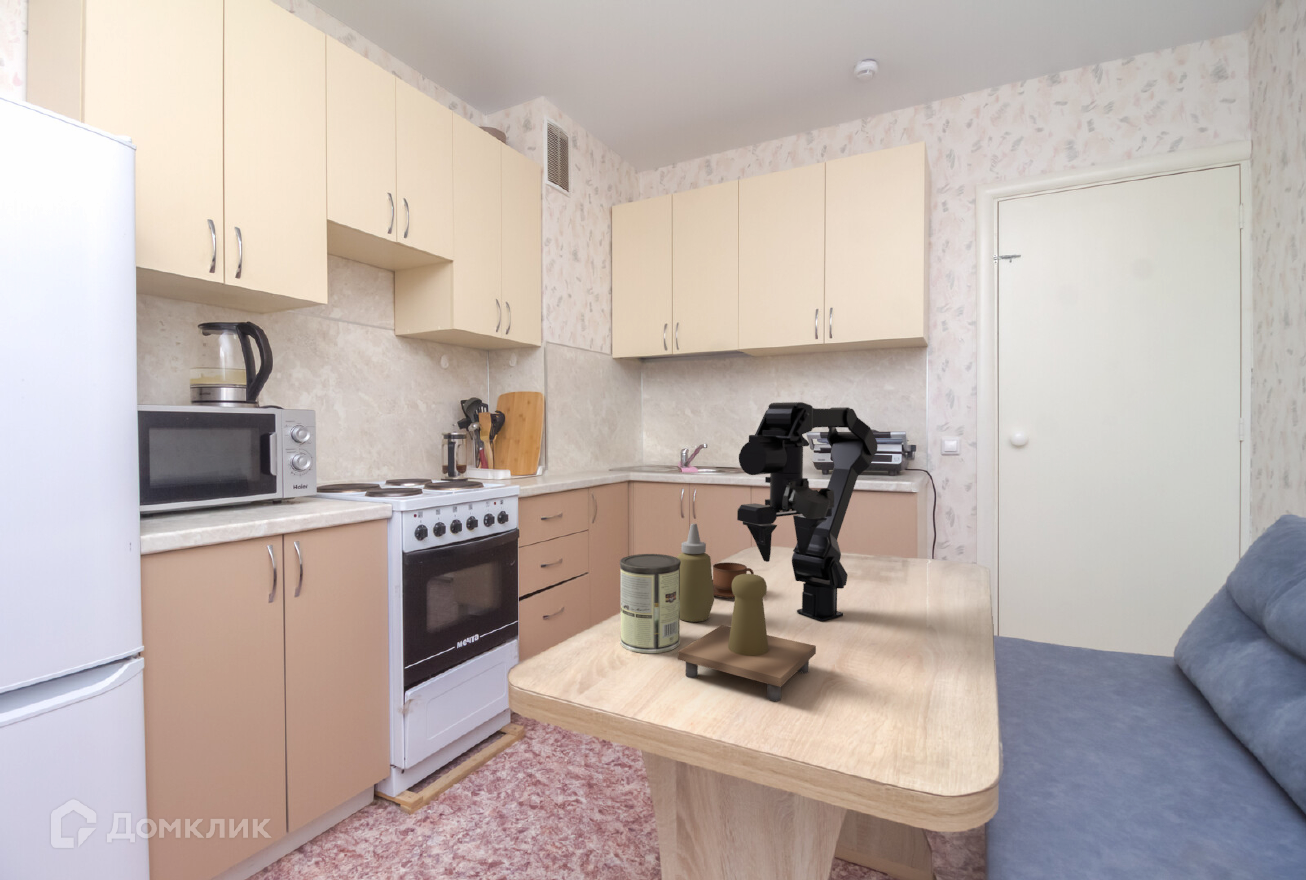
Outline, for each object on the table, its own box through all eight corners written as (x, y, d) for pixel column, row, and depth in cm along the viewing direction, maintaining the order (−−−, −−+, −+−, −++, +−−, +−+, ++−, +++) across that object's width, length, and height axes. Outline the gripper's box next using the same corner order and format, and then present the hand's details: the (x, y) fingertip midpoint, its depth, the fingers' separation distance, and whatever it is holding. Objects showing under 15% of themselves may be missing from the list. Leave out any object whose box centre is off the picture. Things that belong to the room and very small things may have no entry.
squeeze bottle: (669, 611, 119) (670, 520, 119) (709, 610, 120) (710, 520, 119) (675, 625, 111) (675, 528, 111) (718, 624, 112) (719, 527, 111)
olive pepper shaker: (774, 645, 92) (775, 573, 91) (759, 659, 87) (761, 583, 86) (737, 637, 95) (738, 568, 94) (721, 650, 90) (722, 577, 89)
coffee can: (632, 628, 109) (632, 551, 109) (687, 635, 106) (687, 556, 106) (609, 649, 100) (610, 564, 99) (669, 657, 96) (670, 570, 96)
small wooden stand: (677, 676, 89) (677, 651, 89) (721, 646, 101) (721, 625, 101) (780, 705, 80) (780, 678, 80) (815, 669, 92) (815, 645, 92)
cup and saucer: (725, 583, 141) (725, 557, 140) (768, 594, 132) (768, 566, 132) (690, 594, 132) (690, 566, 132) (734, 606, 124) (734, 576, 123)
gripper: (782, 478, 97) (781, 575, 97) (857, 473, 107) (855, 560, 108) (735, 472, 106) (734, 561, 107) (808, 468, 116) (807, 549, 117)
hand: (784, 558), depth 109 cm, fingers open, 9 cm apart
